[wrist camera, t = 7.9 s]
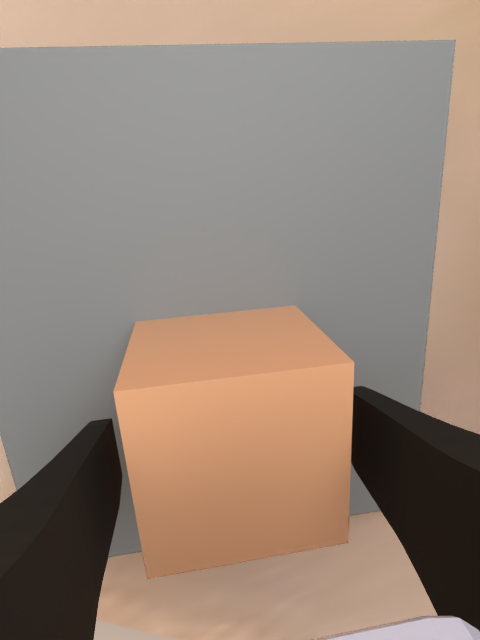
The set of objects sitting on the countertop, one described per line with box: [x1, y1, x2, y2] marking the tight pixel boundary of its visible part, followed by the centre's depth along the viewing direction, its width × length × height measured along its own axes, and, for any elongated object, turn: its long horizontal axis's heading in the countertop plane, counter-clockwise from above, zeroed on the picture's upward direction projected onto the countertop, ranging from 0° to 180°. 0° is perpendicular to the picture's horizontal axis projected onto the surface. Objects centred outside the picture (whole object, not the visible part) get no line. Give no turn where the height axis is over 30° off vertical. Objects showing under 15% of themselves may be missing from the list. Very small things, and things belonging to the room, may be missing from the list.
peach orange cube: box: [113, 305, 354, 579], centre depth 12 cm, size 6×6×5 cm
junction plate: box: [0, 40, 456, 557], centre depth 13 cm, size 16×18×5 cm
